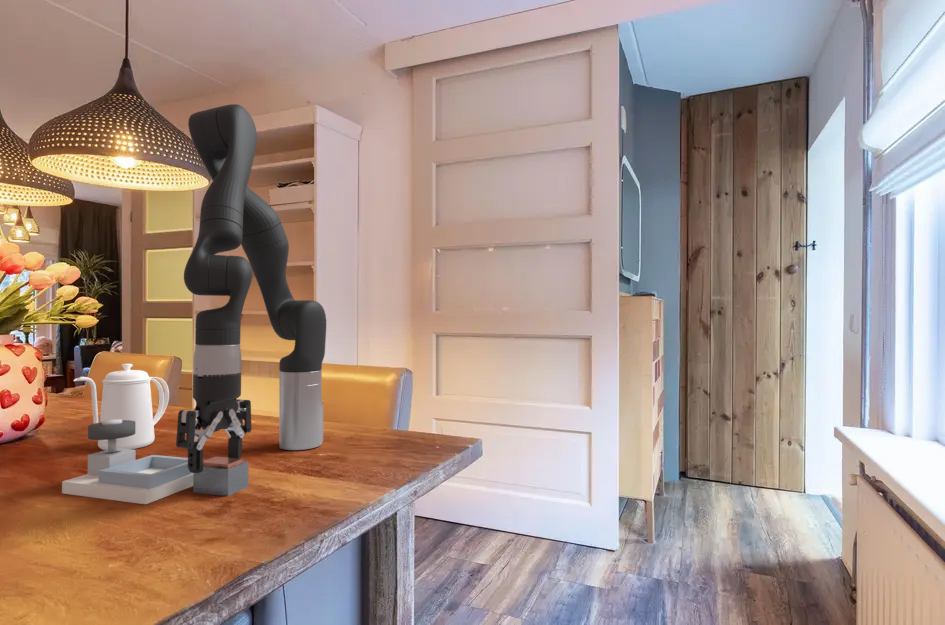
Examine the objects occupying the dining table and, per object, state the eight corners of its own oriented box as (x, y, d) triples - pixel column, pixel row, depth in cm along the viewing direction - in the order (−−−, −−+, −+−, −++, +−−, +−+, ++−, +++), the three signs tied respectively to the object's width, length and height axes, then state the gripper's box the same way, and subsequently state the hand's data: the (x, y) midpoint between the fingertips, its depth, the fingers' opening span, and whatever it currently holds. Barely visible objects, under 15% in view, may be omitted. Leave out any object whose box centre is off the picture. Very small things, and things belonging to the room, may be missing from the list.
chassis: (131, 471, 102) (132, 442, 102) (208, 479, 96) (208, 449, 96) (62, 493, 89) (62, 460, 89) (145, 504, 84) (145, 469, 84)
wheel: (115, 447, 99) (115, 416, 99) (144, 450, 97) (144, 418, 97) (77, 456, 92) (77, 423, 92) (108, 460, 90) (108, 425, 90)
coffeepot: (51, 459, 110) (52, 368, 110) (148, 433, 134) (148, 359, 134) (95, 462, 108) (96, 369, 108) (185, 435, 132) (186, 359, 132)
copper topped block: (214, 483, 95) (214, 455, 95) (248, 487, 93) (248, 458, 93) (193, 493, 90) (193, 462, 90) (228, 496, 88) (228, 466, 88)
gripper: (230, 366, 99) (229, 454, 99) (165, 373, 86) (163, 474, 86) (263, 368, 97) (262, 457, 97) (201, 375, 83) (200, 479, 83)
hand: (215, 465), depth 91 cm, fingers open, 8 cm apart
